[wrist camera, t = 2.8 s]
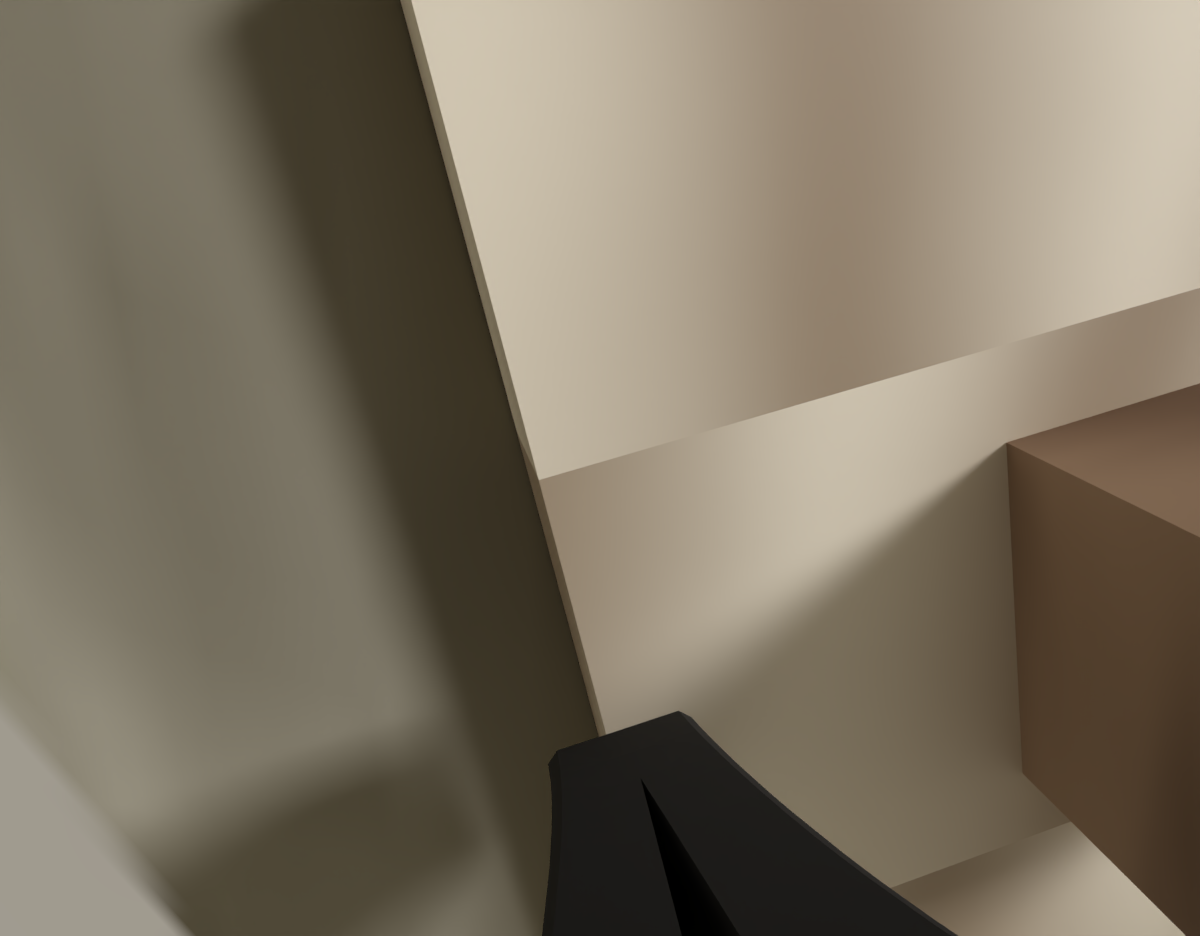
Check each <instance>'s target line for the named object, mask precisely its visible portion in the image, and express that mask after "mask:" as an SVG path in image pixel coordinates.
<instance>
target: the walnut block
mask: <svg viewBox="0 0 1200 936" xmlns="http://www.w3.org/2000/svg"><path fill="white" fill-rule="evenodd" d="M1006 447H1007V467H1008V487H1009V508H1010V528H1011V549H1012V569H1013V589H1014V610H1015V630H1016V650H1017V671H1018V691H1019V711H1020V732H1021V752H1022V772H1023V774H1024V775H1025V776H1026V777H1027V778H1028V779H1029V780H1030V781H1031V782H1032V783H1033V784H1034V785H1035V786H1036V787H1037V788H1038V789H1039V790H1040V791H1041V792H1042V793H1043V794H1044V795H1045V796H1046V797H1047V798H1048V799H1049V800H1050V801H1051V802H1052V803H1053V804H1054V805H1055V806H1056V807H1057V808H1058V809H1059V810H1060V811H1061V812H1062V813H1063V814H1064V815H1065V816H1066V817H1067V818H1068V819H1069V820H1070V821H1071V822H1072V823H1073V824H1074V825H1075V826H1076V827H1077V828H1078V829H1079V830H1080V831H1081V832H1082V833H1083V834H1084V835H1085V836H1086V837H1087V838H1088V839H1089V840H1090V841H1091V842H1092V843H1093V844H1094V845H1095V846H1096V847H1097V848H1098V849H1099V850H1100V851H1101V852H1102V853H1103V854H1104V855H1105V856H1106V857H1107V858H1108V859H1109V860H1110V861H1111V862H1112V863H1113V864H1114V865H1115V866H1116V867H1117V868H1118V869H1119V870H1120V871H1121V872H1122V873H1123V874H1124V875H1125V876H1126V877H1127V878H1128V879H1129V880H1130V881H1131V882H1132V883H1133V884H1134V885H1135V886H1136V887H1137V888H1138V889H1139V890H1140V891H1141V892H1142V893H1143V894H1144V895H1145V896H1146V897H1147V898H1148V899H1149V900H1150V901H1151V902H1152V903H1153V904H1154V905H1155V906H1156V907H1157V908H1158V909H1159V910H1160V911H1161V912H1162V913H1163V914H1164V915H1165V916H1166V917H1167V918H1168V919H1169V920H1170V921H1171V922H1172V923H1174V924H1175V925H1176V926H1177V927H1178V928H1179V929H1180V930H1181V931H1182V932H1183V933H1184V934H1185V935H1186V936H1200V383H1199V384H1196V385H1193V386H1189V387H1186V388H1183V389H1180V390H1176V391H1173V392H1170V393H1166V394H1163V395H1160V396H1157V397H1153V398H1150V399H1147V400H1144V401H1140V402H1137V403H1134V404H1131V405H1127V406H1124V407H1121V408H1117V409H1114V410H1111V411H1108V412H1104V413H1101V414H1098V415H1095V416H1091V417H1088V418H1085V419H1082V420H1078V421H1075V422H1072V423H1068V424H1065V425H1062V426H1059V427H1055V428H1052V429H1049V430H1046V431H1042V432H1039V433H1036V434H1032V435H1029V436H1026V437H1023V438H1019V439H1016V440H1013V441H1010V442H1006Z"/></svg>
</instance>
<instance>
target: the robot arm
mask: <svg viewBox="0 0 1200 936" xmlns="http://www.w3.org/2000/svg"><path fill="white" fill-rule="evenodd" d="M548 766H549V772H550V779H551V792H552V836H551V853H550V869H549V879H548V888H547V897H546V906H545V915H544V923H543V932H542V936H958V935H957V934H955V933H954V932H952V931H951V930H949V929H948V928H946V927H945V926H943V925H942V924H940V923H939V922H937V921H936V920H934V919H933V918H931V917H930V916H929V915H927V914H926V913H924V912H923V911H922V910H920V909H919V908H917V907H916V906H915V905H913V904H912V903H910V902H909V901H908V900H906V899H905V898H903V897H902V896H901V895H899V894H898V893H896V892H895V891H894V890H892V889H891V888H889V887H888V886H887V885H885V884H884V883H882V882H881V881H880V880H878V879H877V878H876V877H874V876H873V875H872V874H870V873H869V872H868V871H866V870H865V869H864V868H862V867H861V866H860V865H858V864H857V863H856V862H854V861H853V860H852V859H851V858H849V857H848V856H847V855H845V854H844V853H843V852H842V851H840V850H839V849H838V848H837V847H835V846H834V845H833V844H832V843H830V842H829V841H828V840H827V839H825V838H824V837H823V836H822V835H820V834H819V833H818V832H817V831H815V830H814V829H813V828H812V827H810V826H809V825H808V824H807V823H805V822H804V821H803V820H802V819H801V818H799V817H798V816H797V815H796V814H794V813H793V812H792V811H791V810H789V809H788V808H787V807H786V806H785V805H784V804H782V803H781V802H780V801H779V800H778V799H777V798H775V797H774V796H773V795H772V794H771V793H770V792H768V791H767V790H766V789H765V788H764V787H763V786H762V785H761V784H759V783H758V782H757V781H756V780H755V779H754V778H753V777H752V776H751V775H749V774H748V773H747V772H746V771H745V770H744V769H743V768H742V767H741V766H740V765H738V764H737V763H736V762H735V761H734V760H733V759H732V758H731V757H730V756H729V755H728V754H727V753H726V752H725V751H724V750H723V749H722V748H721V747H720V746H719V745H718V744H717V743H716V742H715V741H714V740H713V739H712V738H711V737H710V736H709V735H708V734H707V733H706V732H705V731H704V730H703V729H702V728H701V727H700V726H699V725H698V724H697V723H696V722H695V721H694V719H693V718H692V717H690V716H688V715H686V714H684V713H682V712H680V711H676V712H673V713H670V714H667V715H664V716H661V717H658V718H655V719H652V720H649V721H646V722H643V723H640V724H637V725H634V726H630V727H627V728H624V729H621V730H618V731H615V732H612V733H609V734H606V735H603V736H600V737H597V738H594V739H591V740H588V741H585V742H582V743H579V744H576V745H573V746H570V747H567V748H564V749H561V750H558V751H557V752H556V753H555V755H554V756H553V758H552V759H551V761H550V762H549V764H548Z"/></svg>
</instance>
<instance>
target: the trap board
mask: <svg viewBox="0 0 1200 936" xmlns="http://www.w3.org/2000/svg"><path fill="white" fill-rule="evenodd" d="M400 1H401V5H402V8H403V12H404V16H405V19H406V23H407V27H408V30H409V34H410V38H411V42H412V45H413V49H414V53H415V56H416V60H417V64H418V68H419V71H420V75H421V79H422V82H423V86H424V90H425V94H426V97H427V101H428V105H429V108H430V112H431V116H432V119H433V123H434V127H435V131H436V134H437V138H438V142H439V145H440V149H441V153H442V157H443V160H444V164H445V168H446V171H447V175H448V179H449V182H450V186H451V190H452V194H453V197H454V201H455V205H456V208H457V212H458V216H459V220H460V223H461V227H462V231H463V234H464V238H465V242H466V246H467V249H468V253H469V257H470V260H471V264H472V268H473V271H474V275H475V279H476V283H477V286H478V290H479V294H480V297H481V301H482V305H483V309H484V312H485V316H486V320H487V323H488V327H489V331H490V335H491V338H492V342H493V346H494V349H495V353H496V357H497V360H498V364H499V368H500V372H501V375H502V379H503V383H504V386H505V390H506V394H507V398H508V401H509V405H510V409H511V412H512V416H513V420H514V423H515V427H516V431H517V435H518V438H519V442H520V446H521V449H522V453H523V457H524V461H525V464H526V468H527V472H528V475H529V479H530V483H531V487H532V490H533V494H534V498H535V501H536V505H537V509H538V512H539V516H540V520H541V524H542V527H543V531H544V535H545V538H546V542H547V546H548V550H549V553H550V557H551V561H552V564H553V568H554V572H555V575H556V579H557V583H558V587H559V590H560V594H561V598H562V601H563V605H564V609H565V613H566V616H567V620H568V624H569V627H570V631H571V635H572V639H573V642H574V646H575V650H576V653H577V657H578V661H579V664H580V668H581V672H582V676H583V679H584V683H585V687H586V690H587V694H588V698H589V702H590V705H591V709H592V713H593V716H594V720H595V724H596V727H597V731H598V735H599V737H600V736H603V735H606V734H609V733H612V732H615V731H618V730H621V729H624V728H627V727H630V726H634V725H637V724H640V723H643V722H646V721H649V720H652V719H655V718H658V717H661V716H664V715H667V714H670V713H673V712H676V711H680V712H682V713H684V714H686V715H688V716H690V717H692V718H693V719H694V721H695V722H696V723H697V724H698V725H699V726H700V727H701V728H702V729H703V730H704V731H705V732H706V733H707V734H708V735H709V736H710V737H711V738H712V739H713V740H714V741H715V742H716V743H717V744H718V745H719V746H720V747H721V748H722V749H723V750H724V751H725V752H726V753H727V754H728V755H729V756H730V757H731V758H732V759H733V760H734V761H735V762H736V763H737V764H738V765H740V766H741V767H742V768H743V769H744V770H745V771H746V772H747V773H748V774H749V775H751V776H752V777H753V778H754V779H755V780H756V781H757V782H758V783H759V784H761V785H762V786H763V787H764V788H765V789H766V790H767V791H768V792H770V793H771V794H772V795H773V796H774V797H775V798H777V799H778V800H779V801H780V802H781V803H782V804H784V805H785V806H786V807H787V808H788V809H789V810H791V811H792V812H793V813H794V814H796V815H797V816H798V817H799V818H801V819H802V820H803V821H804V822H805V823H807V824H808V825H809V826H810V827H812V828H813V829H814V830H815V831H817V832H818V833H819V834H820V835H822V836H823V837H824V838H825V839H827V840H828V841H829V842H830V843H832V844H833V845H834V846H835V847H837V848H838V849H839V850H840V851H842V852H843V853H844V854H845V855H847V856H848V857H849V858H851V859H852V860H853V861H854V862H856V863H857V864H858V865H860V866H861V867H862V868H864V869H865V870H866V871H868V872H869V873H870V874H872V875H873V876H874V877H876V878H877V879H878V880H880V881H881V882H882V883H884V884H885V885H887V886H888V887H889V888H891V889H892V890H894V891H895V892H896V893H898V894H899V895H901V896H902V897H903V898H905V899H906V900H908V901H909V902H910V903H912V904H913V905H915V906H916V907H917V908H919V909H920V910H922V911H923V912H924V913H926V914H927V915H929V916H930V917H931V918H933V919H934V920H936V921H937V922H939V923H940V924H942V925H943V926H945V927H946V928H948V929H949V930H951V931H952V932H954V933H955V934H957V935H958V936H1186V935H1185V934H1184V933H1183V932H1182V931H1181V930H1180V929H1179V928H1178V927H1177V926H1176V925H1175V924H1174V923H1172V922H1171V921H1170V920H1169V919H1168V918H1167V917H1166V916H1165V915H1164V914H1163V913H1162V912H1161V911H1160V910H1159V909H1158V908H1157V907H1156V906H1155V905H1154V904H1153V903H1152V902H1151V901H1150V900H1149V899H1148V898H1147V897H1146V896H1145V895H1144V894H1143V893H1142V892H1141V891H1140V890H1139V889H1138V888H1137V887H1136V886H1135V885H1134V884H1133V883H1132V882H1131V881H1130V880H1129V879H1128V878H1127V877H1126V876H1125V875H1124V874H1123V873H1122V872H1121V871H1120V870H1119V869H1118V868H1117V867H1116V866H1115V865H1114V864H1113V863H1112V862H1111V861H1110V860H1109V859H1108V858H1107V857H1106V856H1105V855H1104V854H1103V853H1102V852H1101V851H1100V850H1099V849H1098V848H1097V847H1096V846H1095V845H1094V844H1093V843H1092V842H1091V841H1090V840H1089V839H1088V838H1087V837H1086V836H1085V835H1084V834H1083V833H1082V832H1081V831H1080V830H1079V829H1078V828H1077V827H1076V826H1075V825H1074V824H1073V823H1072V822H1071V821H1070V820H1069V819H1068V818H1067V817H1066V816H1065V815H1064V814H1063V813H1062V812H1061V811H1060V810H1059V809H1058V808H1057V807H1056V806H1055V805H1054V804H1053V803H1052V802H1051V801H1050V800H1049V799H1048V798H1047V797H1046V796H1045V795H1044V794H1043V793H1042V792H1041V791H1040V790H1039V789H1038V788H1037V787H1036V786H1035V785H1034V784H1033V783H1032V782H1031V781H1030V780H1029V779H1028V778H1027V777H1026V776H1025V775H1024V774H1023V772H1022V752H1021V732H1020V711H1019V691H1018V671H1017V650H1016V630H1015V610H1014V589H1013V569H1012V549H1011V528H1010V508H1009V487H1008V467H1007V447H1006V442H1010V441H1013V440H1016V439H1019V438H1023V437H1026V436H1029V435H1032V434H1036V433H1039V432H1042V431H1046V430H1049V429H1052V428H1055V427H1059V426H1062V425H1065V424H1068V423H1072V422H1075V421H1078V420H1082V419H1085V418H1088V417H1091V416H1095V415H1098V414H1101V413H1104V412H1108V411H1111V410H1114V409H1117V408H1121V407H1124V406H1127V405H1131V404H1134V403H1137V402H1140V401H1144V400H1147V399H1150V398H1153V397H1157V396H1160V395H1163V394H1166V393H1170V392H1173V391H1176V390H1180V389H1183V388H1186V387H1189V386H1193V385H1196V384H1199V383H1200V0H400Z"/></svg>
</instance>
